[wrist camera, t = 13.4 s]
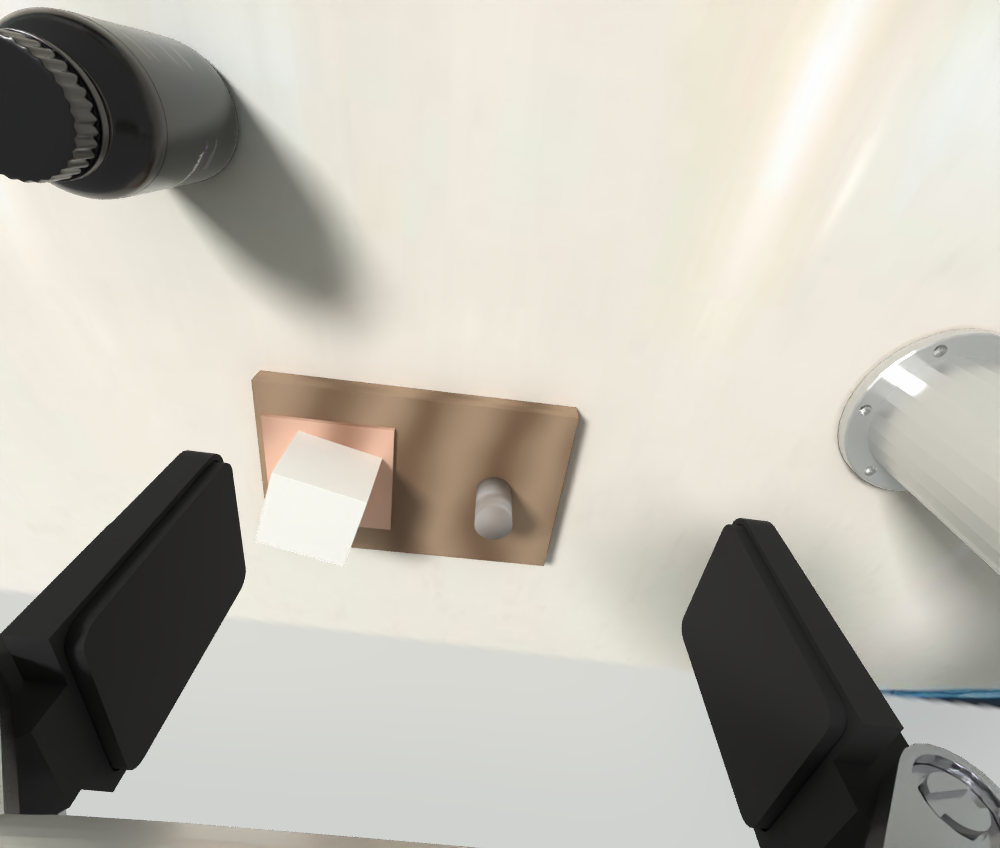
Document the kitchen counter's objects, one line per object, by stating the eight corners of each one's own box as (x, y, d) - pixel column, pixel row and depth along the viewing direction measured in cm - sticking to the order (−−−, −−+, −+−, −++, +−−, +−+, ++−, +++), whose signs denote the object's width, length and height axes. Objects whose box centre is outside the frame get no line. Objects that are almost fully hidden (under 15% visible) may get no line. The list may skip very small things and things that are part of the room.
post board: (576, 407, 38) (586, 447, 34) (542, 552, 45) (547, 602, 41) (260, 370, 37) (226, 407, 32) (275, 526, 44) (249, 575, 39)
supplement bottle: (234, 200, 31) (102, 243, 21) (109, 152, 30) (-97, 173, 20) (252, 69, 28) (107, 43, 18) (113, 9, 27) (-131, -57, 16)
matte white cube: (382, 458, 38) (367, 502, 34) (360, 518, 41) (343, 566, 37) (298, 430, 37) (271, 472, 33) (281, 494, 40) (254, 541, 35)
